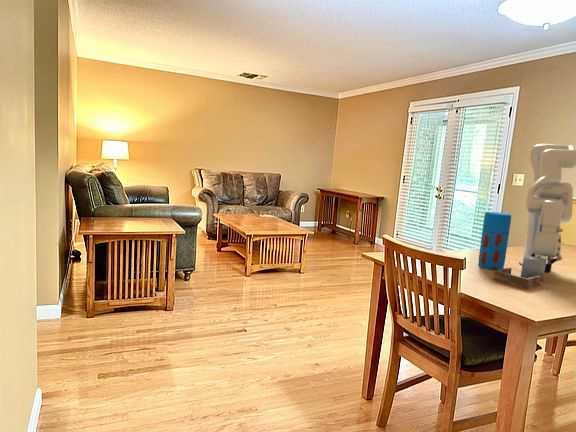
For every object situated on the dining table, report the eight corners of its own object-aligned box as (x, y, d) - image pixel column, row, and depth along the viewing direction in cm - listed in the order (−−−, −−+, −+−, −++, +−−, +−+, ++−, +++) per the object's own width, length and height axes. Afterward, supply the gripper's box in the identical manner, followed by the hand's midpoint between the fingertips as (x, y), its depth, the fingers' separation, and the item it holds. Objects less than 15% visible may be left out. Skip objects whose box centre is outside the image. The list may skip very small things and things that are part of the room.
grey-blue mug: (532, 274, 181) (535, 254, 180) (551, 279, 174) (555, 258, 173) (516, 277, 173) (519, 257, 172) (536, 283, 167) (540, 261, 165)
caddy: (507, 276, 174) (509, 267, 173) (540, 285, 163) (542, 275, 163) (492, 280, 167) (494, 270, 166) (526, 289, 156) (527, 279, 156)
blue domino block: (506, 271, 183) (515, 216, 179) (481, 268, 185) (488, 213, 181) (499, 265, 193) (507, 213, 190) (475, 263, 195) (482, 211, 192)
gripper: (574, 232, 170) (567, 275, 172) (532, 225, 183) (526, 265, 186) (566, 233, 165) (559, 277, 168) (524, 226, 179) (518, 267, 181)
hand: (542, 270), depth 177 cm, fingers open, 3 cm apart
